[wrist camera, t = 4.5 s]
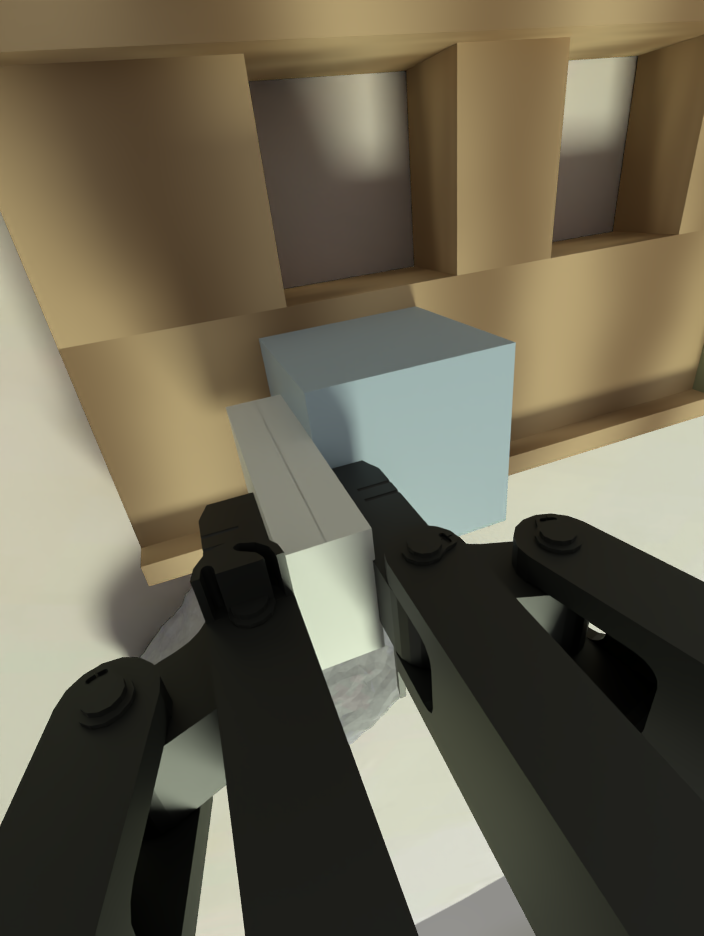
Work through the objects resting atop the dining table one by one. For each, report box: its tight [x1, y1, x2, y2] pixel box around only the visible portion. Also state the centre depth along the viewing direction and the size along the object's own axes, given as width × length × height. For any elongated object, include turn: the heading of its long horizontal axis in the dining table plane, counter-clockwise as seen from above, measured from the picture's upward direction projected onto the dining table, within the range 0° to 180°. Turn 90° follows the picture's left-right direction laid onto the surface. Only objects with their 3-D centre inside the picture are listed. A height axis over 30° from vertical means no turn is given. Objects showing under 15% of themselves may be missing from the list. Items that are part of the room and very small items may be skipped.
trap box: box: [0, 0, 704, 586], centre depth 16 cm, size 24×14×4 cm, turn 96°
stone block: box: [140, 587, 406, 744], centre depth 23 cm, size 12×5×10 cm
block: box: [259, 306, 516, 536], centre depth 14 cm, size 5×5×5 cm
